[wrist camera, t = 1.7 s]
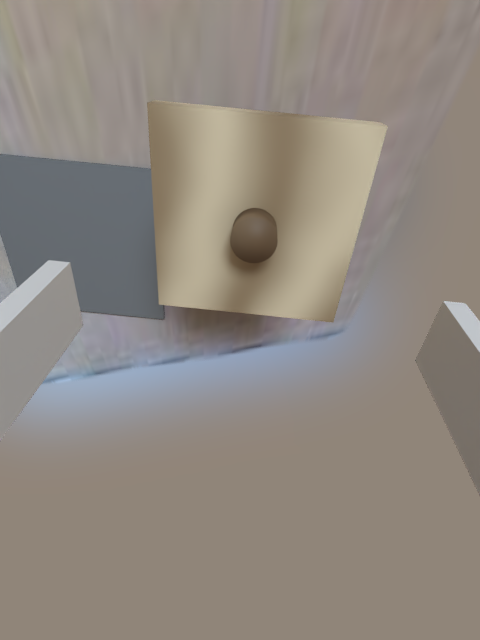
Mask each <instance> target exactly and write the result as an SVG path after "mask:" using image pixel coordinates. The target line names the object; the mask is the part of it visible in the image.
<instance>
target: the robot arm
mask: <svg viewBox="0 0 480 640" xmlns="http://www.w3.org/2000/svg"><path fill="white" fill-rule="evenodd" d="M82 326H83V321H82V317H81V312H80V307H79V302H78V298H77V293H76V288H75V283H74V279H73V274H72V269H71V264H70V262H62V261H52V260H48V261H47V262H46V263H45V264H44V265H43V266H42V267H40V268H39V269H38V270H37V271H36V272H35V273H34V274H33V275H31V276H30V277H29V278H28V279H27V280H26V281H25V282H24V283H22V284H21V285H20V286H19V287H18V288H17V289H16V290H15V291H13V292H12V293H11V294H10V295H9V296H8V297H7V298H6V299H4V300H3V301H2V302H1V303H0V441H1V439H2V438H3V437H4V435H5V434H6V432H7V431H8V430H9V428H10V427H11V426H12V424H13V423H14V421H15V420H16V419H17V417H18V416H19V414H20V413H21V412H22V410H23V408H24V407H25V406H26V405H27V403H28V402H29V400H30V399H31V398H32V396H33V395H34V393H35V392H36V391H37V389H38V388H39V386H40V385H41V384H42V382H43V381H44V379H45V378H46V377H47V375H48V374H49V372H50V371H51V370H52V368H53V367H54V365H55V364H56V363H57V361H58V360H59V358H60V357H61V356H62V354H63V353H64V352H65V350H66V349H67V347H68V346H69V345H70V343H71V342H72V340H73V339H74V338H75V336H76V335H77V333H78V332H79V331H80V329H81V328H82ZM415 361H416V363H417V365H418V367H419V370H420V372H421V373H422V376H423V378H424V380H425V382H426V384H427V386H428V388H429V390H430V392H431V395H432V397H433V399H434V401H435V403H436V405H437V407H438V409H439V411H440V414H441V415H442V417H443V420H444V422H445V424H446V426H447V428H448V430H449V432H450V434H451V437H452V439H453V441H454V443H455V445H456V447H457V449H458V451H459V453H460V456H461V457H462V460H463V462H464V464H465V466H466V468H467V470H468V472H469V474H470V476H471V479H472V481H473V483H474V485H475V487H476V489H477V491H478V493H479V495H480V321H479V320H478V319H477V318H476V316H475V315H474V314H473V313H472V311H471V310H470V309H469V308H468V306H467V305H466V304H465V303H456V302H447V301H443V303H442V305H441V307H440V309H439V311H438V313H437V315H436V318H435V319H434V322H433V324H432V326H431V328H430V330H429V332H428V334H427V336H426V339H425V341H424V343H423V345H422V347H421V349H420V351H419V353H418V356H417V358H416V360H415Z"/></svg>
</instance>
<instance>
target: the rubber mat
mask: <svg viewBox="0 0 480 640" xmlns="http://www.w3.org/2000/svg"><path fill="white" fill-rule="evenodd" d="M0 234H1V237H2V240H3V243H4V247H5V250H6V253H7V256H8V259H9V262H10V266H11V269H12V272H13V275H14V278H15V281H16V285H17V288H18V287H19V286H20V285H21V284H22V283H24V282H25V281H26V280H27V279H28V278H29V277H30V276H31V275H33V274H34V273H35V272H36V271H37V270H38V269H39V268H40V267H42V266H43V265H44V264H45V263H46V262H47V261H48V260H52V261H62V262H70V264H71V269H72V274H73V279H74V283H75V288H76V293H77V298H78V302H79V307H80V311H85V312H95V313H105V314H115V315H125V316H135V317H145V318H154V319H164V318H165V316H164V305H159V297H158V280H157V263H156V246H155V228H154V211H153V194H152V176H151V169H148V168H138V167H127V166H117V165H107V164H97V163H87V162H76V161H66V160H56V159H46V158H35V157H25V156H15V155H5V154H0Z"/></svg>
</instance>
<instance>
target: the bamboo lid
mask: <svg viewBox="0 0 480 640" xmlns="http://www.w3.org/2000/svg"><path fill="white" fill-rule="evenodd" d="M147 107H148V125H149V142H150V159H151V176H152V194H153V211H154V228H155V246H156V263H157V280H158V297H159V305H169V306H178V307H188V308H198V309H208V310H217V311H227V312H237V313H247V314H256V315H266V316H276V317H286V318H295V319H305V320H315V321H325V322H333V321H334V318H335V314H336V310H337V307H338V303H339V300H340V296H341V292H342V289H343V285H344V282H345V278H346V274H347V271H348V267H349V264H350V260H351V256H352V253H353V249H354V246H355V242H356V239H357V235H358V231H359V228H360V224H361V221H362V217H363V213H364V210H365V206H366V203H367V199H368V195H369V192H370V188H371V185H372V181H373V178H374V174H375V170H376V167H377V163H378V160H379V156H380V152H381V149H382V145H383V142H384V138H385V134H386V131H387V127H388V126H386V125H384V124H382V123H380V122H371V121H361V120H351V119H341V118H331V117H320V116H310V115H300V114H290V113H280V112H269V111H259V110H249V109H239V108H229V107H219V106H208V105H198V104H188V103H178V102H168V101H158V100H154V101H151V102H148V103H147Z"/></svg>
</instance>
